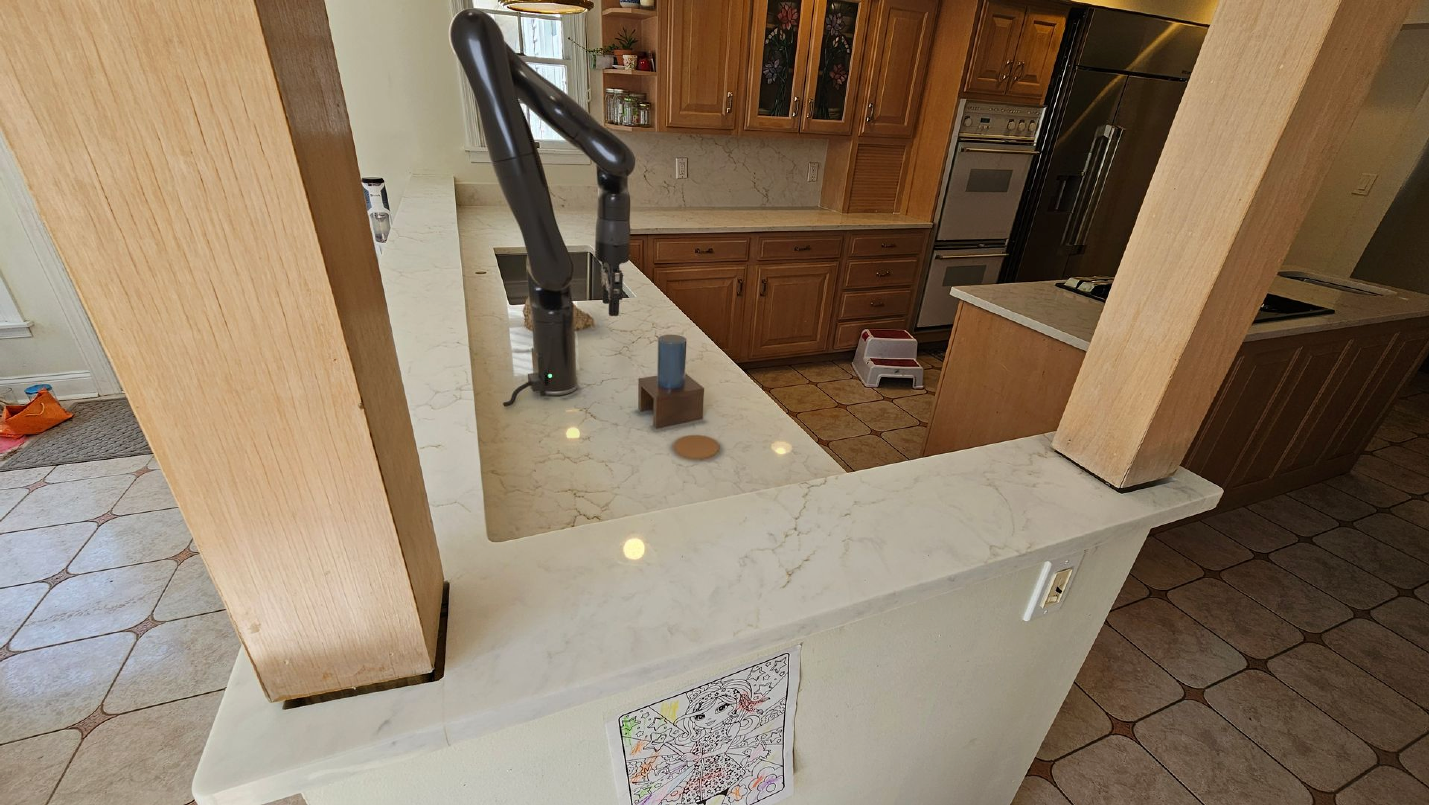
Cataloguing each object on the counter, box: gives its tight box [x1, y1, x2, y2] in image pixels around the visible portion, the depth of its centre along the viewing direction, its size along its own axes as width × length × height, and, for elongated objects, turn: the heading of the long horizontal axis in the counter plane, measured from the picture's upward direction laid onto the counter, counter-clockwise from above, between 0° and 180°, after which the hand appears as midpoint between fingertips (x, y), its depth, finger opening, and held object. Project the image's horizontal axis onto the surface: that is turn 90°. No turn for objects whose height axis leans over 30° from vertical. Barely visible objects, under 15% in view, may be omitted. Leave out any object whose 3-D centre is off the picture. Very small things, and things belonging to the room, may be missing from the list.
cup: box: [656, 334, 688, 389], centre depth 129 cm, size 6×6×10 cm
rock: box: [522, 297, 596, 332], centre depth 179 cm, size 28×22×16 cm
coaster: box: [673, 434, 720, 461], centre depth 122 cm, size 9×9×1 cm
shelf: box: [637, 372, 705, 430], centre depth 132 cm, size 11×10×8 cm
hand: (610, 309), depth 141 cm, fingers open, 8 cm apart
